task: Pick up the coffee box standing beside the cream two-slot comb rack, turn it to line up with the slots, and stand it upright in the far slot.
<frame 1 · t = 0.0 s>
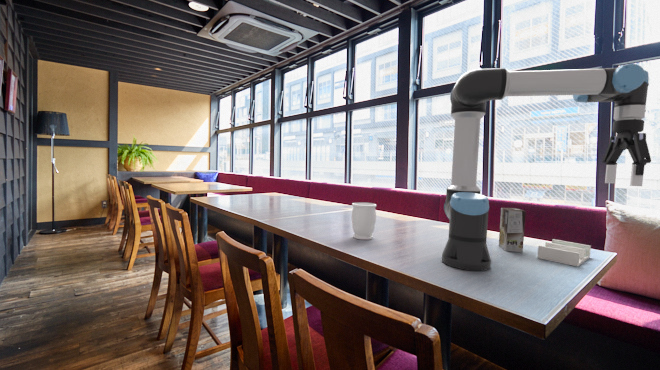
hand: (622, 184, 107), 28 cm above the table, tool pointing down, fingers open, 13 cm apart
coffee box: (510, 249, 129), on the table
comb rack: (563, 257, 119), on the table
jar: (363, 238, 140), on the table
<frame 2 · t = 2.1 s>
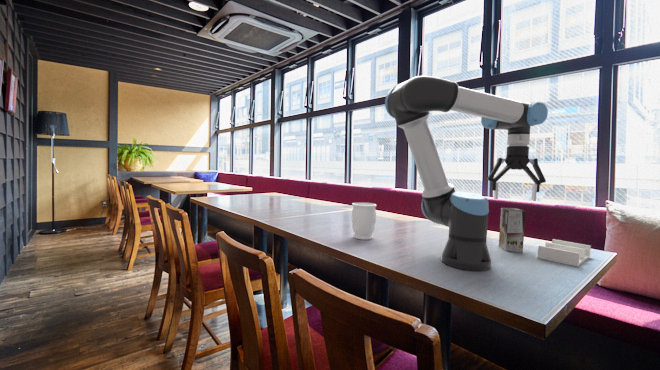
hand: (514, 199, 128), 20 cm above the table, tool pointing down, fingers open, 13 cm apart
nothing on the table moved.
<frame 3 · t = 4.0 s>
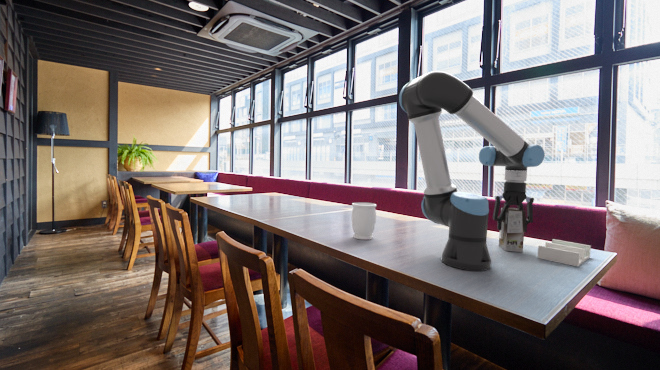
hand: (510, 238, 129), 4 cm above the table, tool pointing down, fingers closed on coffee box, 7 cm apart
coffee box: (510, 249, 129), on the table, touching gripper
everything else where it was.
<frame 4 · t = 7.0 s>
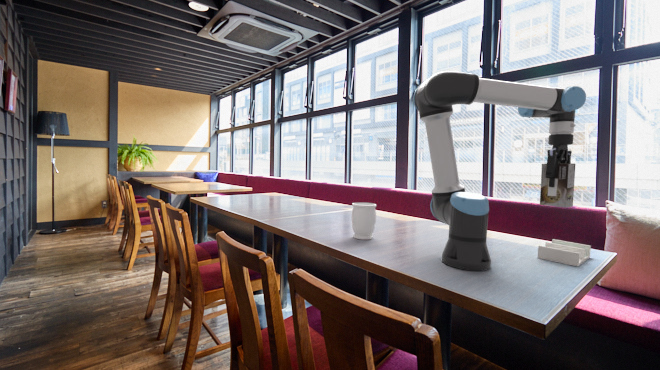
hand: (556, 195, 122), 23 cm above the table, tool pointing down, fingers closed on coffee box, 7 cm apart
coffee box: (555, 206, 122), point 18 cm above the table, touching gripper
everything else where it was.
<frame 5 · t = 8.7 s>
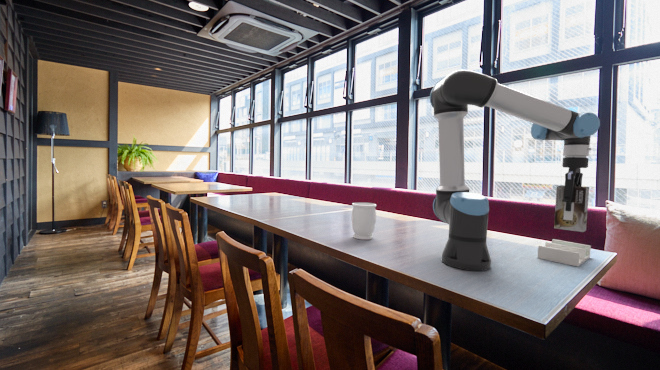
hand: (570, 218, 120), 14 cm above the table, tool pointing down, fingers closed on coffee box, 7 cm apart
coffee box: (569, 229, 121), point 10 cm above the table, touching gripper
everything else where it was.
when the fingers open (6 cm above the table, at t = 10.2 s): coffee box drops 1 cm, resting on comb rack.
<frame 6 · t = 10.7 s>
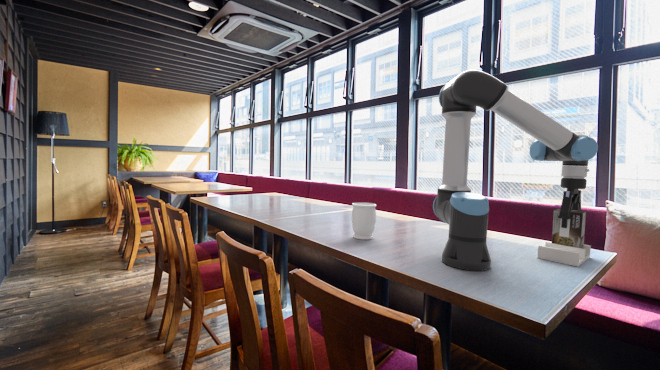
hand: (568, 234, 121), 8 cm above the table, tool pointing down, fingers open, 13 cm apart
coffee box: (566, 253, 121), point 1 cm above the table, touching comb rack
everything else where it was.
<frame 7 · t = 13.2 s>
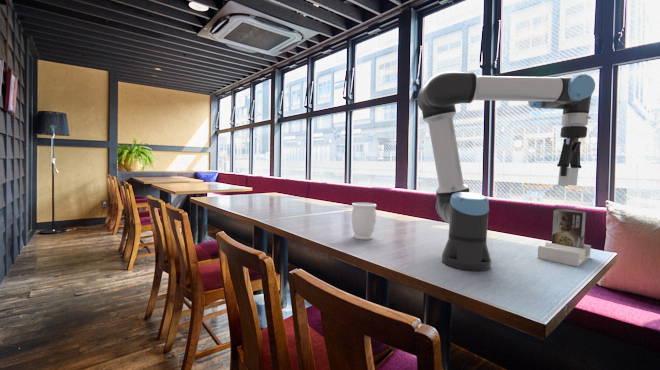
hand: (567, 185, 117), 27 cm above the table, tool pointing down, fingers open, 13 cm apart
nothing on the table moved.
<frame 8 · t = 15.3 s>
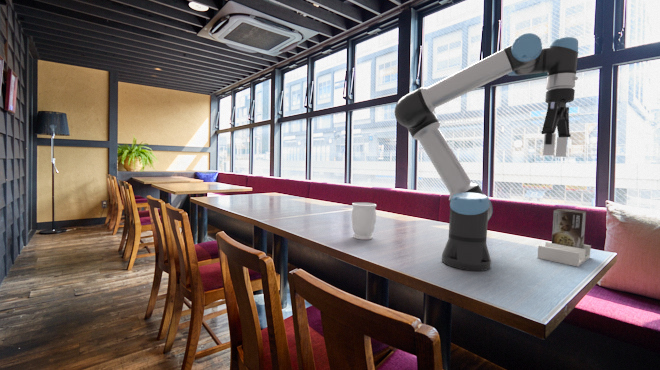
hand: (554, 156, 105), 37 cm above the table, tool pointing down, fingers open, 13 cm apart
nothing on the table moved.
at the end: coffee box 0.2 cm from the target spot on the comb rack, point 0.9 cm above the comb rack's base; coffee box tilted 0°; the gripper is holding nothing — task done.
